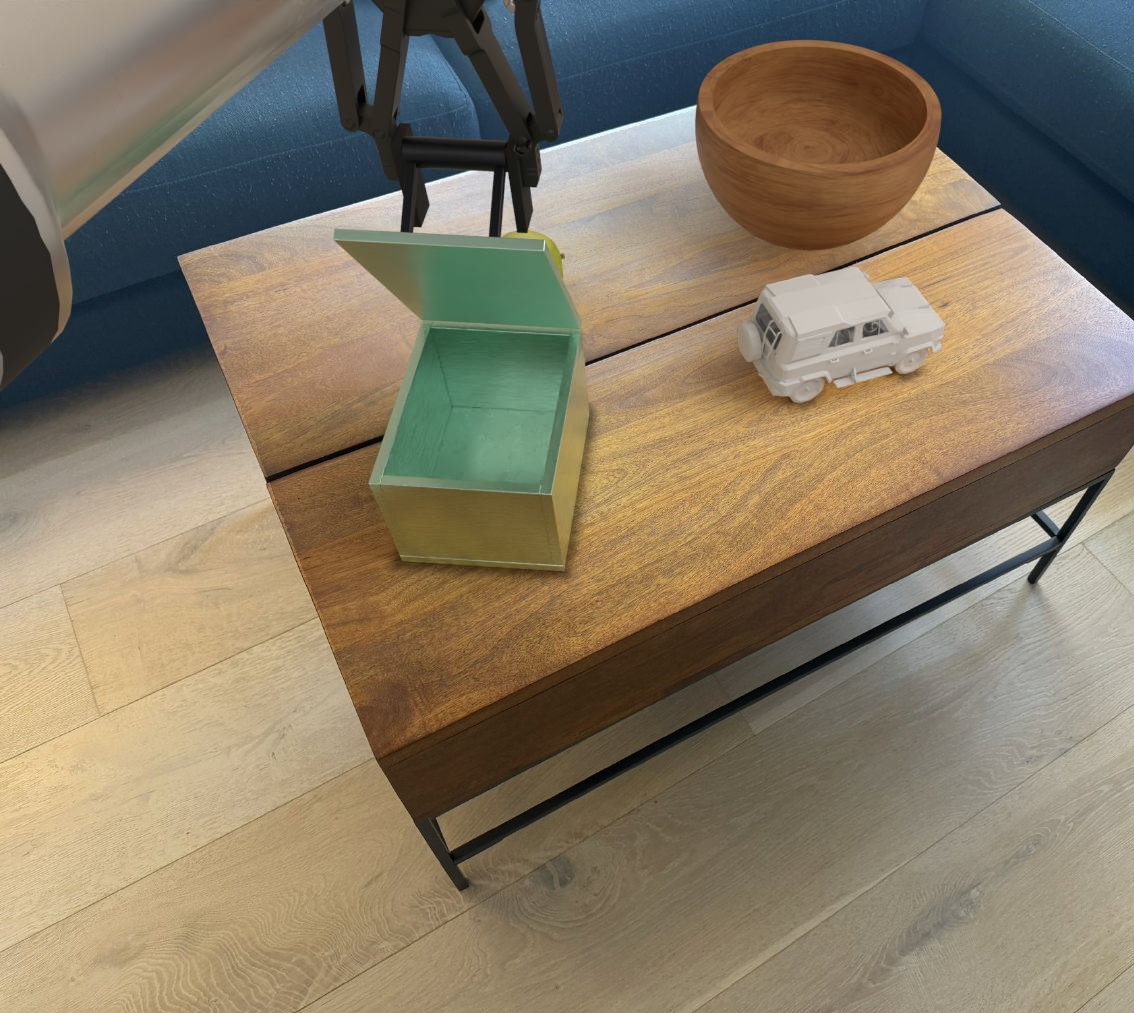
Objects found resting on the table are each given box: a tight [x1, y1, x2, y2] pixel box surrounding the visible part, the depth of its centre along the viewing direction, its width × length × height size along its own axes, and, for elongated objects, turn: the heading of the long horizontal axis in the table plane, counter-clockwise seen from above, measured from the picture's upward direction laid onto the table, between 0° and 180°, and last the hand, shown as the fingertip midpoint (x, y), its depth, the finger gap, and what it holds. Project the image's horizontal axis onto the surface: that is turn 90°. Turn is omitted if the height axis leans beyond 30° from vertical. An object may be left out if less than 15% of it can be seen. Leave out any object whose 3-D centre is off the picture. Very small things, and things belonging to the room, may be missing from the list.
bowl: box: [694, 39, 942, 251], centre depth 97 cm, size 25×25×15 cm
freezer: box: [368, 320, 590, 572], centre depth 76 cm, size 18×14×11 cm
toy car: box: [736, 261, 946, 404], centre depth 86 cm, size 10×20×10 cm, turn 111°
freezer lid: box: [332, 135, 582, 329], centre depth 68 cm, size 19×14×8 cm
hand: (472, 218), depth 66 cm, fingers closed on freezer lid, 7 cm apart
